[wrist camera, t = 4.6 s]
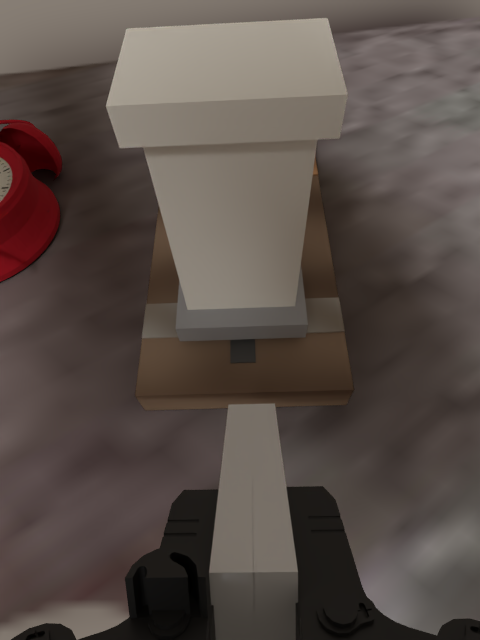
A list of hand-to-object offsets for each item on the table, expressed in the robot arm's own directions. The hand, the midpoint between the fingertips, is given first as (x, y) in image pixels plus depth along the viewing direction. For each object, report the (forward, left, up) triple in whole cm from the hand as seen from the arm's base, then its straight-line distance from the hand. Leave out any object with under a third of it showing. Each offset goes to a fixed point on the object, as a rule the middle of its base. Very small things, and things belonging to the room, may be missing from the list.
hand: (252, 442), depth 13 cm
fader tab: (-8, +3, -4) cm, 9 cm away
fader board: (-14, +6, -6) cm, 17 cm away
